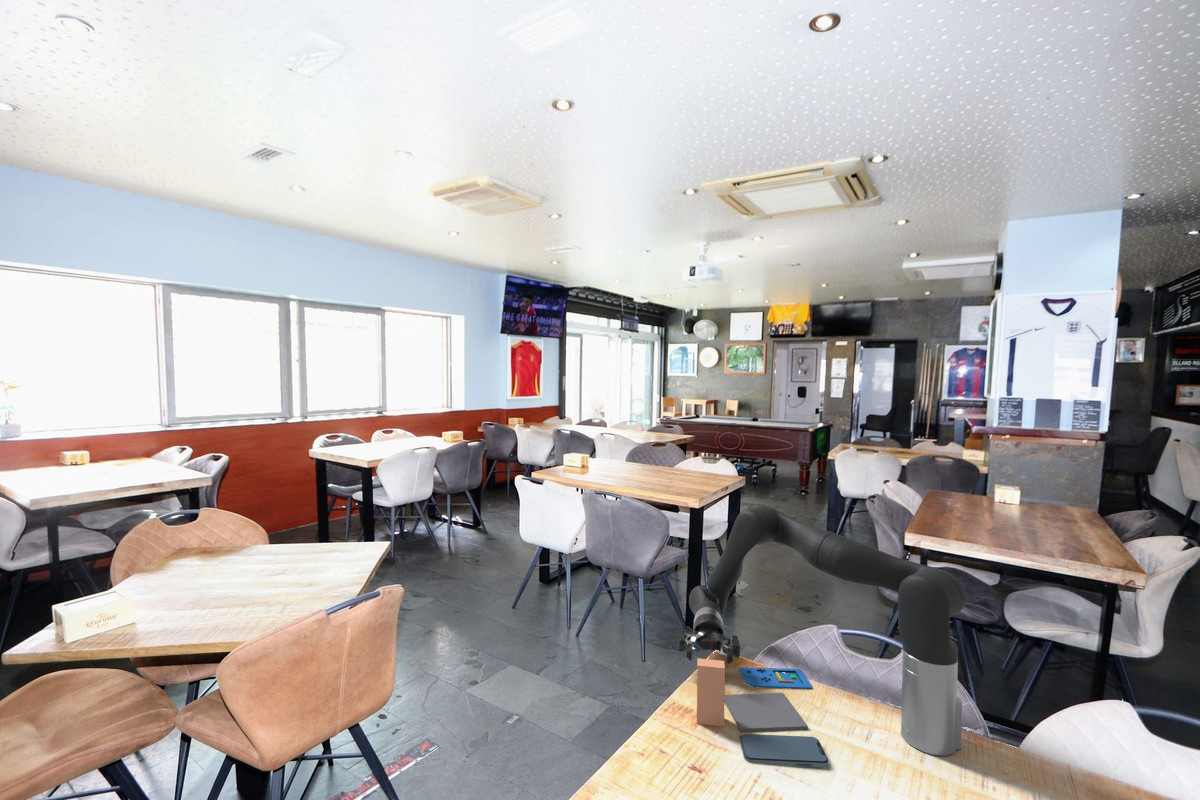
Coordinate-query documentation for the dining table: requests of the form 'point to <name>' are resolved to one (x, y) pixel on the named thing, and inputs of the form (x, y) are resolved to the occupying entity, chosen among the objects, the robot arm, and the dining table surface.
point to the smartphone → (783, 750)
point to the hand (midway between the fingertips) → (709, 658)
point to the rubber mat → (763, 712)
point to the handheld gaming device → (775, 678)
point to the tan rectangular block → (710, 692)
